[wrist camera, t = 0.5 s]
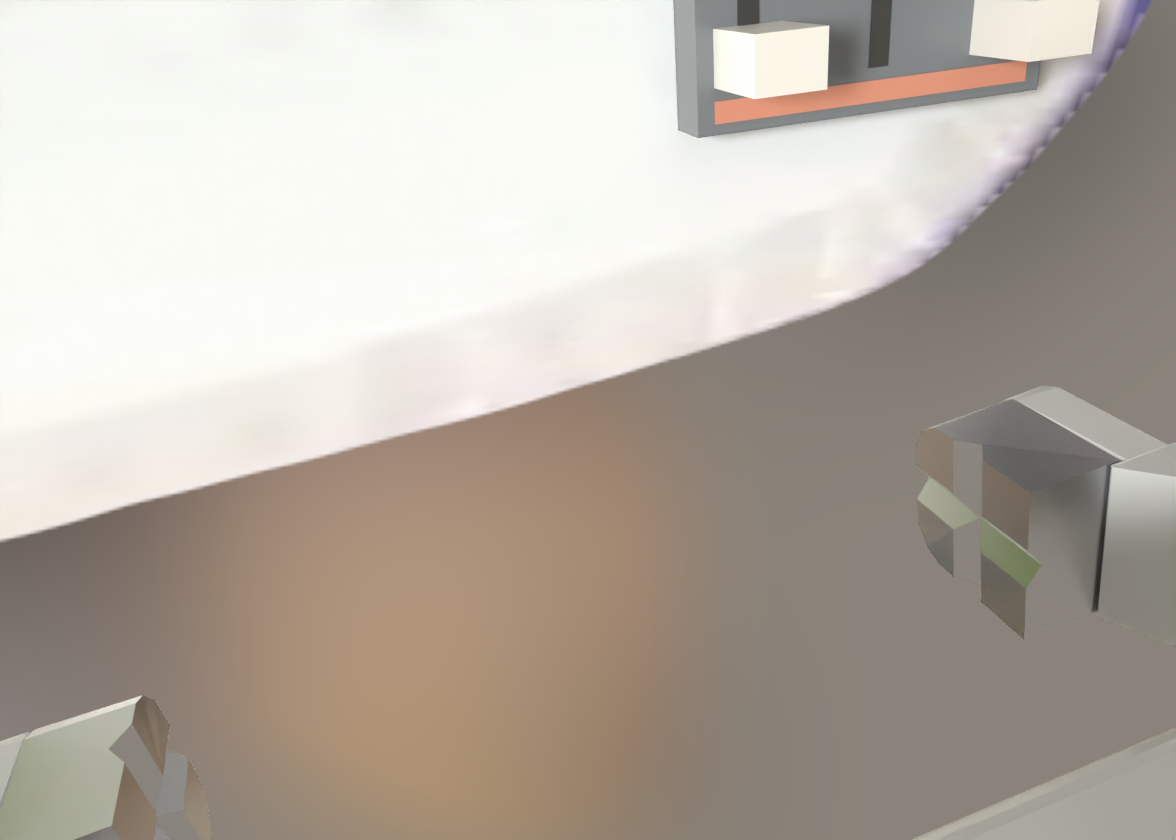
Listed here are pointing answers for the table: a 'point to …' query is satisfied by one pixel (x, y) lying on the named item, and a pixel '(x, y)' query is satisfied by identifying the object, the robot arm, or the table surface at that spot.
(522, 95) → the table surface
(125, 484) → the table surface
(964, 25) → the breaker panel
